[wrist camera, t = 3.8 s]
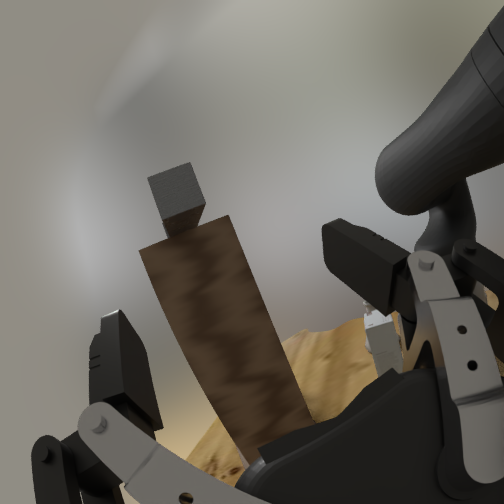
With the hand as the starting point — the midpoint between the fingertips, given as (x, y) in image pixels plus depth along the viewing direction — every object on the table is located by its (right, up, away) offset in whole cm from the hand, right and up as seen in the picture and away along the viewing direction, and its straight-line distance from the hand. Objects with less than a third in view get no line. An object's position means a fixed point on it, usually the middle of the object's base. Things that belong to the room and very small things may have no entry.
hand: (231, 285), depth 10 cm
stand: (+4, -27, +26) cm, 38 cm away
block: (-7, +3, +19) cm, 21 cm away
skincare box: (+23, -19, +27) cm, 40 cm away
